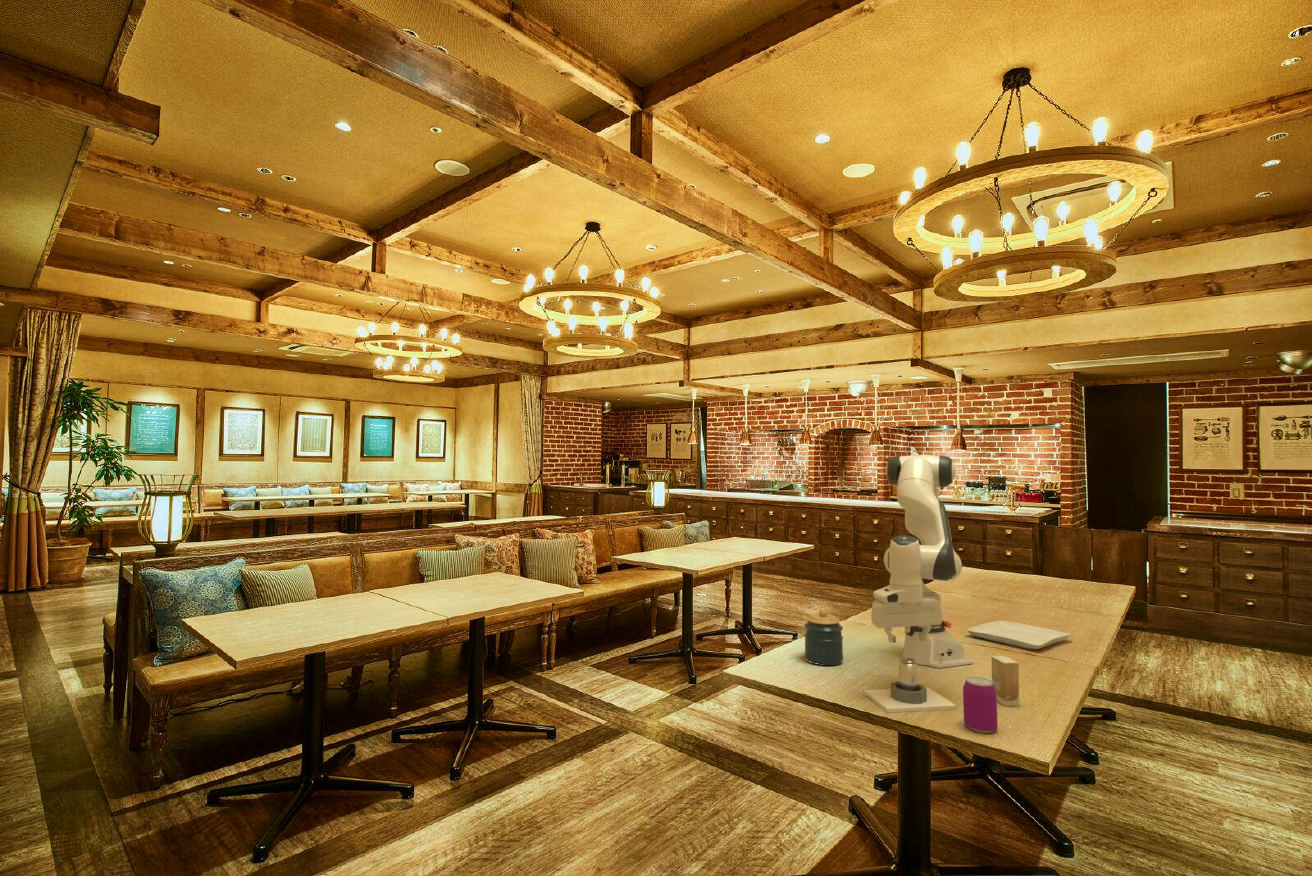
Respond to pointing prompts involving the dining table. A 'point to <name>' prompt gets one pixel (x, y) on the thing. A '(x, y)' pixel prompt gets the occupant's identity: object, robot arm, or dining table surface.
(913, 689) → the cylinder
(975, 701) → the beverage can
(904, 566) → the robot arm
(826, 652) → the canister
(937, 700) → the ring block
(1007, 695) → the skincare box
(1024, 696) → the dining table surface
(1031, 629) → the square plate
